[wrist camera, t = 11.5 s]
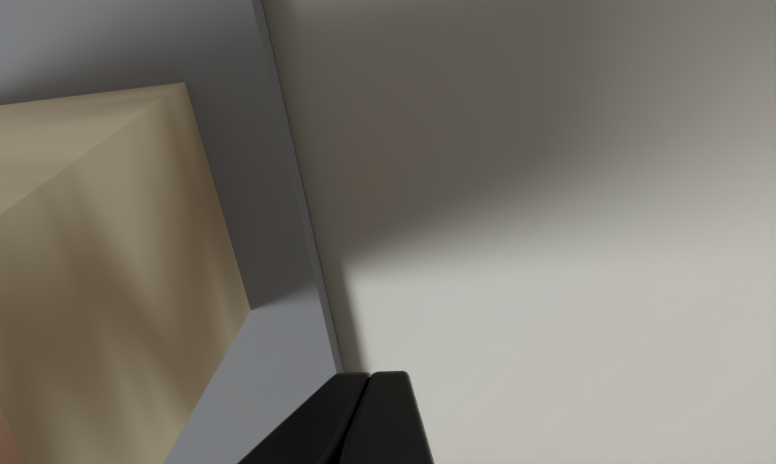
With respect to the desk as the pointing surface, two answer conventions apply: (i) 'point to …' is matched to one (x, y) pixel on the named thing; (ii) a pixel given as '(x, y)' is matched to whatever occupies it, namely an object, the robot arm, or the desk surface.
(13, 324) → the tall block
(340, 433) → the robot arm
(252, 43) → the rubber mat
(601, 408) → the desk surface
